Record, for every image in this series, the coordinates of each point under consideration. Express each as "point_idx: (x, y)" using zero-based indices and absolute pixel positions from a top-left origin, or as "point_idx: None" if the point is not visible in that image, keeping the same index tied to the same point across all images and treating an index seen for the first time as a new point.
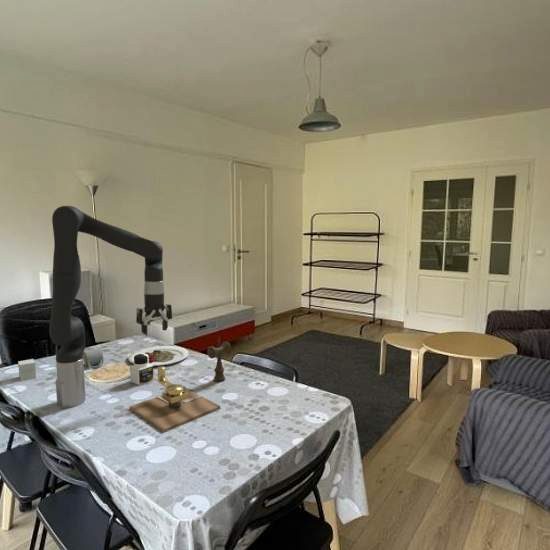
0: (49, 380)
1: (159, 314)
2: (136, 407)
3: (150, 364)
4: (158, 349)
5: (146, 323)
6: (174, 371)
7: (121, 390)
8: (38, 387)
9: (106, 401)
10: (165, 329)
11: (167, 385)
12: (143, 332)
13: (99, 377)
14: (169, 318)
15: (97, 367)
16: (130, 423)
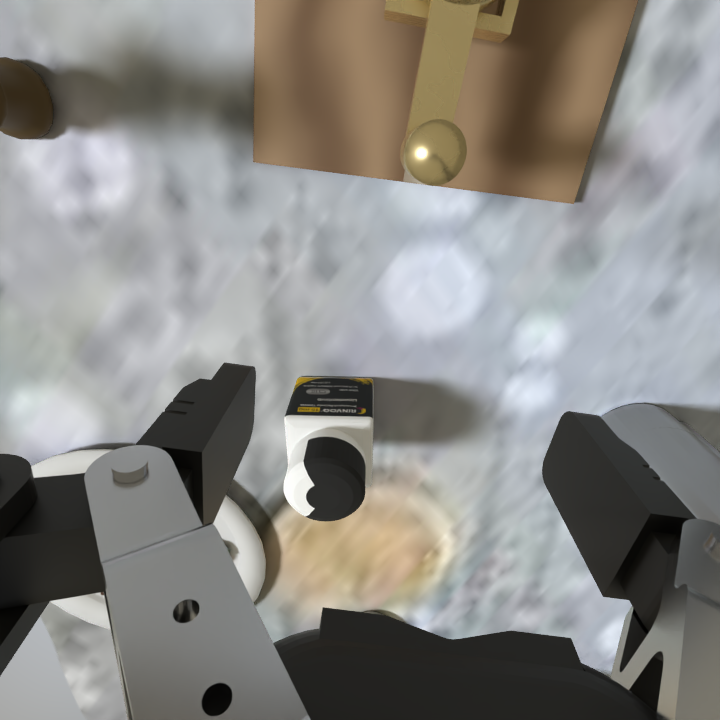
0: (533, 626)
1: (315, 693)
2: (568, 161)
3: (287, 435)
4: (102, 603)
5: (688, 541)
6: (167, 387)
7: (452, 394)
8: (589, 606)
9: (561, 351)
10: (245, 366)
11: (472, 18)
12: (624, 444)
13: (420, 546)
14: (34, 484)
15: (372, 612)
16: (691, 46)
